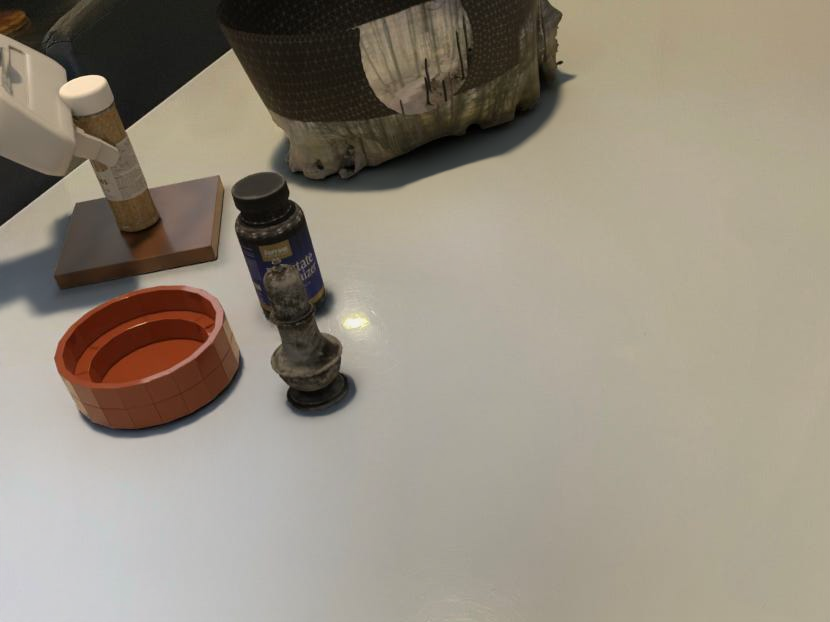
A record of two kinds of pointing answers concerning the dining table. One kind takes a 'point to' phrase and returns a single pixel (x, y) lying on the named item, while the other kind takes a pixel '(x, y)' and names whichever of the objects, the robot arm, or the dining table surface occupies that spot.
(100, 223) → the board
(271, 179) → the pill bottle
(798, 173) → the dining table surface
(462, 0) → the basket
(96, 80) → the sprinkles bottle
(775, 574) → the dining table surface
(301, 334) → the grey stone chess piece
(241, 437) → the dining table surface
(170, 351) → the bowl
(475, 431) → the dining table surface
